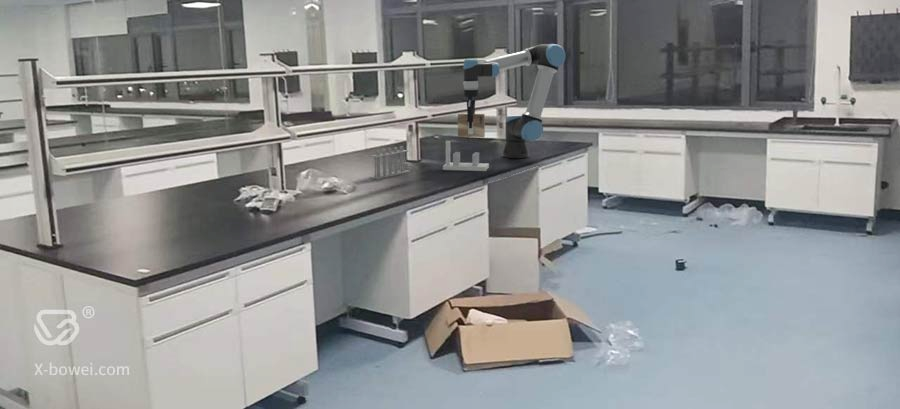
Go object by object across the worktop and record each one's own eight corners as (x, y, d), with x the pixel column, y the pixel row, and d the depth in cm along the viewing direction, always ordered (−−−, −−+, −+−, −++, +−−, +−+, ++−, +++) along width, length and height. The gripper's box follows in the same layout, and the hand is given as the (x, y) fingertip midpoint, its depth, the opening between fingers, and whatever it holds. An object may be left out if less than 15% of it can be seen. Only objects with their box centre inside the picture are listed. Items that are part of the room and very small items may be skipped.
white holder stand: (447, 166, 398) (447, 139, 395) (488, 167, 395) (489, 140, 392) (442, 169, 387) (442, 142, 384) (485, 171, 383) (485, 143, 380)
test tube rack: (377, 179, 361) (376, 152, 358) (370, 178, 364) (369, 151, 361) (409, 172, 381) (409, 146, 378) (402, 171, 384) (402, 145, 381)
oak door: (458, 136, 405) (458, 113, 402) (484, 136, 402) (484, 114, 400) (457, 137, 401) (457, 114, 399) (483, 137, 399) (483, 114, 396)
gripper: (466, 88, 405) (466, 131, 410) (461, 90, 390) (461, 135, 395) (480, 88, 404) (480, 132, 409) (475, 90, 389) (476, 135, 394)
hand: (471, 133), depth 402 cm, fingers closed on oak door, 2 cm apart
